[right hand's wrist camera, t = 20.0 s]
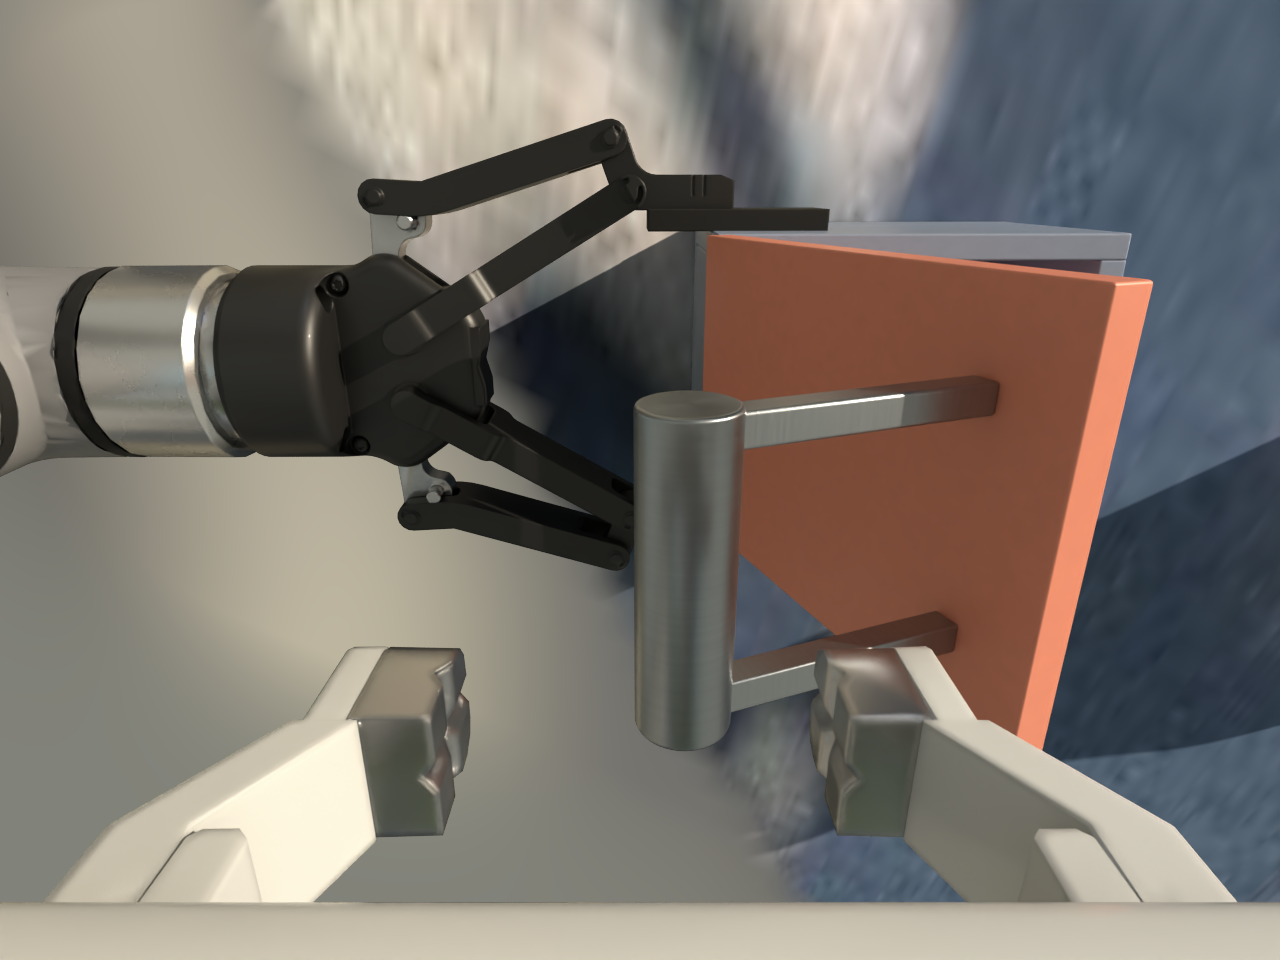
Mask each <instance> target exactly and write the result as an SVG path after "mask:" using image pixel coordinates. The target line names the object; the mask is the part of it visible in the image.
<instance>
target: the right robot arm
mask: <svg viewBox="0 0 1280 960" xmlns="http://www.w3.org/2000/svg"><path fill="white" fill-rule="evenodd" d="M465 677H466V669H465V661H464V654H463V653H462V651H461V649H460V648H415V647H390V648H388V647H354V648H351V649H349V650H348V651H347V652H346V653H345V655H344V656H343V658H342V659H341V661H340V663H339V664H338V666H337V667H336V669H335V670H334V672H333V673H332V675H331V677H330V678H329V680H328V681H327V683H326V684H325V686H324V687H323V689H322V691H321V692H320V694H319V695H318V697H317V698H316V700H315V701H314V703H313V705H312V706H311V708H310V709H309V711H308V712H307V714H306V716H305V717H304V719H303V720H291V721H289V722H287V723H285V724H284V725H282V726H280V727H278V728H277V729H275V730H273V731H272V732H270V733H268V734H266V735H265V736H263V737H261V738H259V739H258V740H256V741H254V742H252V743H251V744H249V745H247V746H245V747H244V748H242V749H240V750H238V751H237V752H235V753H233V754H231V755H230V756H228V757H226V758H224V759H223V760H221V761H219V762H217V763H216V764H214V765H212V766H210V767H209V768H207V769H205V770H203V771H202V772H200V773H198V774H196V775H195V776H193V777H191V778H189V779H188V780H186V781H184V782H182V783H181V784H179V785H177V786H175V787H174V788H172V789H170V790H168V791H167V792H165V793H163V794H161V795H160V796H158V797H156V798H154V799H153V800H151V801H149V802H147V803H146V804H144V805H142V806H140V807H139V808H137V809H135V810H133V811H132V812H130V813H128V814H126V815H125V816H123V817H121V818H120V819H118V820H116V821H114V822H112V823H111V824H109V825H107V827H106V828H105V829H104V830H103V831H102V832H101V834H100V835H99V836H98V837H97V838H96V840H95V841H94V842H93V843H92V844H91V846H90V847H89V848H88V849H87V850H86V851H85V853H84V854H83V855H82V856H81V857H80V859H79V860H78V861H77V862H76V863H75V865H74V866H73V867H72V868H71V869H70V870H69V872H68V873H67V874H66V875H65V876H64V878H63V879H62V880H61V881H60V882H59V883H58V885H57V886H56V887H55V888H54V889H53V891H52V892H51V893H50V894H49V895H48V896H47V898H46V899H45V900H44V901H43V902H0V960H1280V902H1237V901H1236V900H1235V899H1234V898H1233V896H1232V895H1231V894H1230V893H1229V892H1228V890H1227V889H1226V888H1225V887H1224V886H1223V884H1222V883H1221V882H1220V881H1219V880H1218V878H1217V877H1216V876H1215V875H1214V874H1213V873H1212V871H1211V870H1210V869H1209V868H1208V867H1207V865H1206V864H1205V863H1204V862H1203V861H1202V859H1201V858H1200V857H1199V856H1198V855H1197V853H1196V852H1195V851H1194V850H1193V849H1192V847H1191V846H1190V845H1189V844H1188V843H1187V841H1186V840H1185V839H1184V838H1183V837H1182V835H1181V834H1180V833H1179V832H1178V831H1177V829H1176V828H1175V827H1174V826H1172V825H1170V824H1169V823H1167V822H1165V821H1164V820H1162V819H1160V818H1158V817H1157V816H1155V815H1153V814H1151V813H1150V812H1148V811H1146V810H1144V809H1143V808H1141V807H1139V806H1137V805H1136V804H1134V803H1132V802H1130V801H1129V800H1127V799H1125V798H1123V797H1122V796H1120V795H1118V794H1116V793H1115V792H1113V791H1111V790H1110V789H1108V788H1106V787H1104V786H1103V785H1101V784H1099V783H1097V782H1096V781H1094V780H1092V779H1090V778H1089V777H1087V776H1085V775H1083V774H1082V773H1080V772H1078V771H1076V770H1075V769H1073V768H1071V767H1069V766H1068V765H1066V764H1064V763H1062V762H1061V761H1059V760H1057V759H1055V758H1054V757H1052V756H1050V755H1049V754H1047V753H1045V752H1043V751H1042V750H1040V749H1038V748H1036V747H1035V746H1033V745H1031V744H1029V743H1028V742H1026V741H1024V740H1022V739H1021V738H1019V737H1017V736H1015V735H1014V734H1012V733H1010V732H1008V731H1007V730H1005V729H1003V728H1001V727H1000V726H998V725H996V724H995V723H993V722H991V721H989V720H977V719H976V717H975V716H974V714H973V712H972V711H971V709H970V708H969V706H968V705H967V703H966V702H965V700H964V699H963V697H962V696H961V694H960V692H959V691H958V689H957V688H956V686H955V685H954V683H953V682H952V680H951V679H950V677H949V676H948V674H947V672H946V671H945V669H944V668H943V666H942V665H941V663H940V662H939V660H938V659H937V657H936V656H935V654H934V652H933V651H932V650H931V649H930V648H928V647H926V646H920V647H891V648H868V649H818V652H817V656H816V659H815V668H814V677H815V680H816V683H817V686H818V689H819V692H820V693H819V694H818V695H817V696H816V697H815V698H814V699H813V700H812V701H811V709H810V741H811V747H812V753H813V758H814V761H815V765H816V768H817V771H818V772H819V773H821V774H822V775H823V776H824V777H826V778H827V779H826V789H825V798H826V801H827V804H828V808H829V811H830V814H831V817H832V820H833V823H834V827H835V830H836V833H837V835H844V836H880V837H904V841H905V842H906V843H907V844H908V845H909V846H910V847H911V848H912V849H913V850H914V851H915V852H916V853H917V854H918V855H919V856H920V857H921V858H922V859H923V860H924V861H925V862H926V863H927V864H928V865H929V866H930V867H931V868H932V869H933V870H934V871H936V872H937V873H938V874H939V875H940V876H941V877H942V878H943V879H944V880H945V881H946V882H947V883H948V884H949V885H950V886H951V887H952V888H953V889H954V890H955V891H956V892H957V893H958V894H959V895H960V896H961V897H962V898H963V899H964V900H965V901H966V902H314V901H315V900H316V899H317V898H318V897H319V896H320V895H321V894H322V893H323V892H324V891H325V890H326V889H327V888H328V887H329V886H330V885H331V884H332V883H333V882H334V881H336V880H337V879H338V878H339V877H340V876H341V875H342V874H343V873H344V872H345V871H346V870H347V869H348V868H349V867H350V866H351V865H352V864H353V863H354V862H355V861H356V860H357V859H358V858H359V857H360V856H361V855H362V854H363V853H364V852H365V851H366V850H367V849H369V848H370V847H371V846H372V845H373V844H374V843H375V842H376V837H399V836H434V835H443V833H444V830H445V827H446V824H447V820H448V817H449V814H450V811H451V808H452V804H453V801H454V798H455V789H454V779H453V778H454V777H456V776H457V775H458V774H459V773H461V772H462V771H463V768H464V765H465V761H466V758H467V753H468V746H469V738H470V708H469V701H468V700H467V699H466V698H465V697H464V696H463V695H462V694H461V689H462V686H463V683H464V680H465Z"/></svg>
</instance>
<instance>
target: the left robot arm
mask: <svg viewBox="0 0 1280 960" xmlns="http://www.w3.org/2000/svg"><path fill="white" fill-rule="evenodd" d="M601 163H602V166H603V169H604V172H605V174H606V177H607V180H608V183H609V185H608V186H606V187H605V188H603V189H601V190H600V191H598V192H597V193H595V194H594V195H592V196H590V197H589V198H587V199H586V200H584V201H583V202H581V203H580V204H578V205H576V206H575V207H573V208H572V209H570V210H569V211H567V212H566V213H564V214H562V215H561V216H559V217H558V218H556V219H555V220H553V221H551V222H550V223H548V224H547V225H545V226H544V227H542V228H541V229H539V230H537V231H536V232H534V233H533V234H531V235H530V236H528V237H527V238H525V239H523V240H522V241H520V242H519V243H517V244H516V245H514V246H513V247H511V248H509V249H508V250H506V251H505V252H503V253H502V254H500V255H498V256H497V257H495V258H494V259H492V260H491V261H489V262H488V263H486V264H484V265H483V266H481V267H480V268H478V269H477V270H475V271H473V272H472V273H470V274H468V275H467V276H465V277H464V278H462V279H461V280H459V281H457V282H456V283H454V284H453V285H449V284H448V283H446V282H445V281H443V280H442V279H440V278H439V277H438V276H436V275H435V274H433V273H432V272H430V271H429V270H428V269H426V268H425V267H423V266H422V265H420V264H419V263H417V262H416V261H415V260H413V259H412V258H410V257H409V256H407V255H406V247H407V244H408V243H409V242H410V240H412V239H414V238H416V237H420V236H424V235H425V234H427V233H428V232H429V231H430V229H431V226H432V215H438V214H445V213H451V212H455V211H458V210H462V209H465V208H468V207H471V206H474V205H477V204H480V203H483V202H486V201H489V200H492V199H495V198H498V197H501V196H504V195H507V194H510V193H513V192H516V191H519V190H522V189H525V188H528V187H532V186H535V185H538V184H541V183H544V182H547V181H550V180H553V179H556V178H559V177H562V176H565V175H568V174H571V173H574V172H577V171H580V170H583V169H586V168H589V167H592V166H595V165H598V164H601ZM358 200H359V203H360V204H361V206H362V207H363V209H365V210H366V211H367V212H369V213H370V223H371V237H372V252H373V255H372V256H370V257H368V258H366V259H365V260H363V261H362V262H360V263H358V264H356V265H257V266H250V267H247V268H245V269H244V270H242V271H239V270H237V269H235V268H232V267H230V266H227V265H209V266H208V265H207V266H121V267H103V268H70V267H69V268H68V267H13V266H0V477H1V476H3V475H5V474H7V473H9V472H11V471H14V470H16V469H18V468H20V467H22V466H25V465H27V464H29V463H32V462H36V461H40V460H46V459H51V458H68V457H127V456H128V457H148V456H149V457H246V456H249V455H251V454H253V453H255V452H257V453H259V454H261V455H264V456H268V457H344V456H363V455H367V456H374V457H378V458H381V459H384V460H386V461H388V462H390V463H392V464H394V465H397V466H398V468H399V473H400V479H401V484H402V490H403V496H404V504H403V505H402V507H401V508H400V510H399V512H398V520H399V523H400V524H401V525H402V526H403V527H404V528H406V529H408V530H433V529H452V528H454V529H458V530H462V531H466V532H470V533H474V534H477V535H481V536H485V537H489V538H492V539H496V540H500V541H504V542H508V543H511V544H515V545H519V546H522V547H526V548H530V549H534V550H538V551H541V552H545V553H549V554H553V555H556V556H560V557H564V558H568V559H571V560H575V561H579V562H583V563H586V564H590V565H594V566H598V567H602V568H605V569H609V570H616V571H618V570H621V569H623V568H625V567H626V566H627V564H628V563H629V558H630V553H631V551H632V548H633V546H634V484H632V483H630V482H628V481H626V480H625V479H623V478H621V477H619V476H617V475H615V474H614V473H612V472H610V471H608V470H606V469H604V468H603V467H601V466H599V465H597V464H595V463H593V462H592V461H590V460H588V459H586V458H584V457H583V456H581V455H579V454H577V453H575V452H573V451H572V450H570V449H568V448H566V447H564V446H562V445H561V444H559V443H557V442H555V441H553V440H551V439H550V438H548V437H546V436H544V435H542V434H540V433H539V432H537V431H535V430H533V429H531V428H530V427H528V426H526V425H524V424H522V423H520V422H519V421H517V420H515V419H514V418H513V417H512V415H511V414H510V413H509V412H507V411H506V410H504V409H502V408H501V407H499V406H497V405H495V404H493V403H491V402H490V399H491V397H492V396H493V394H494V389H493V376H492V373H491V370H490V367H489V364H488V361H487V358H486V356H487V351H488V345H489V340H490V332H489V320H485V318H484V316H483V314H482V312H481V310H480V309H479V308H481V307H482V306H484V305H486V304H487V303H489V302H490V301H492V300H493V299H495V298H496V297H498V296H499V295H501V294H502V293H504V292H506V291H507V290H509V289H510V288H512V287H514V286H515V285H517V284H518V283H520V282H521V281H523V280H525V279H526V278H528V277H529V276H531V275H533V274H534V273H536V272H537V271H539V270H541V269H542V268H544V267H545V266H547V265H548V264H550V263H552V262H553V261H555V260H556V259H558V258H560V257H561V256H563V255H564V254H566V253H568V252H569V251H571V250H572V249H574V248H575V247H577V246H579V245H580V244H582V243H583V242H585V241H587V240H588V239H590V238H591V237H593V236H594V235H596V234H598V233H599V232H601V231H602V230H604V229H606V228H607V227H609V226H610V225H612V224H614V223H615V222H617V221H618V220H620V219H621V218H623V217H625V216H626V215H628V214H629V213H631V212H633V211H634V210H647V230H648V231H828V223H829V211H830V209H821V208H733V204H734V180H732V179H729V178H727V177H725V176H722V175H654V174H650V173H647V172H646V171H644V170H643V169H642V168H641V167H640V166H639V165H638V163H637V161H636V158H635V155H634V152H633V149H632V146H631V143H630V140H629V138H628V135H627V131H626V129H625V127H624V125H622V124H621V123H620V122H619V121H617V120H614V119H605V120H602V121H599V122H596V123H593V124H590V125H587V126H584V127H581V128H578V129H575V130H572V131H569V132H566V133H563V134H560V135H557V136H554V137H551V138H548V139H546V140H543V141H540V142H537V143H534V144H531V145H528V146H525V147H522V148H519V149H516V150H513V151H510V152H507V153H504V154H501V155H498V156H495V157H492V158H489V159H486V160H483V161H480V162H477V163H474V164H471V165H468V166H465V167H462V168H459V169H456V170H453V171H450V172H447V173H444V174H441V175H438V176H435V177H432V178H429V179H426V180H423V181H410V180H393V179H368V180H366V181H364V182H363V183H361V185H360V187H359V189H358ZM448 443H450V444H452V445H454V446H455V447H457V448H459V449H461V450H463V451H465V452H467V453H469V454H470V455H472V456H474V457H476V458H478V459H480V460H484V461H493V462H496V463H497V464H499V465H501V466H503V467H505V468H507V469H509V470H511V471H512V472H514V473H516V474H518V475H520V476H522V477H524V478H526V479H528V480H529V481H531V482H533V483H535V484H537V485H539V486H541V487H543V488H544V489H546V490H548V491H550V492H552V493H554V494H556V495H558V496H559V497H561V498H563V499H565V500H567V501H569V502H571V503H573V504H575V505H576V506H578V507H580V508H582V509H584V510H586V511H588V512H590V513H591V514H593V515H591V514H587V513H583V512H580V511H576V510H572V509H569V508H565V507H561V506H558V505H554V504H550V503H547V502H543V501H539V500H536V499H532V498H528V497H525V496H521V495H517V494H514V493H510V492H506V491H503V490H499V489H495V488H492V487H488V486H484V485H480V484H476V483H470V482H456V481H455V478H454V477H453V476H452V475H451V474H450V473H449V472H446V471H441V470H437V469H435V468H434V467H432V466H431V465H430V463H429V462H428V458H429V457H431V456H432V455H433V454H435V453H436V452H438V451H439V450H440V449H442V448H443V447H444V446H446V445H447V444H448ZM594 515H595V516H594Z"/></svg>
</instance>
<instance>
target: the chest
mask: <svg viewBox="0 0 1280 960" xmlns="http://www.w3.org/2000/svg"><path fill="white" fill-rule="evenodd" d="M709 235H739V236H748V237H757V238H766V239H776V240H785V241H794V242H804V243H813V244H822V245H832V246H841V247H850V248H859V249H869V250H878V251H887V252H897V253H906V254H915V255H924V256H934V257H943V258H952V259H962V260H971V261H980V262H990V263H999V264H1008V265H1017V266H1027V267H1036V268H1045V269H1055V270H1064V271H1073V272H1083V273H1092V274H1101V275H1110V276H1120V277H1123V273H1124V268H1125V264H1126V261H1125V259H1126V258H1127V253H1128V249H1129V244H1130V240H1131V234H1130V233H1123V232H1112V231H1100V230H1089V229H1077V228H1066V227H1055V226H1043V225H1032V224H1020V223H1013V222H829V223H828V231H695V263H694V305H693V347H692V389H691V391H703V362H704V328H705V294H706V260H707V236H709Z"/></svg>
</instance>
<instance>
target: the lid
mask: <svg viewBox="0 0 1280 960" xmlns="http://www.w3.org/2000/svg"><path fill="white" fill-rule="evenodd" d="M1152 285H1153V282H1152V281H1151V280H1148V279H1138V278H1129V277H1120V276H1110V275H1101V274H1092V273H1083V272H1073V271H1064V270H1055V269H1045V268H1036V267H1027V266H1017V265H1008V264H999V263H990V262H980V261H971V260H962V259H952V258H943V257H934V256H924V255H915V254H906V253H897V252H887V251H878V250H869V249H859V248H850V247H841V246H832V245H822V244H813V243H804V242H794V241H785V240H776V239H766V238H757V237H748V236H739V235H709V236H707V260H706V294H705V328H704V362H703V391H688V390H686V391H668V392H661V393H656V394H652V395H649V396H646V397H643V398H641V399H639V400H638V401H637V402H636V403H635V406H634V408H633V418H634V630H635V721H636V724H637V726H638V728H639V730H640V732H641V733H642V734H643V735H644V736H645V738H647V739H648V740H649V741H651V742H652V743H654V744H656V745H658V746H660V747H663V748H666V749H670V750H676V751H693V750H699V749H703V748H706V747H709V746H711V745H713V744H715V743H716V742H718V741H719V740H720V739H721V738H722V737H723V736H724V735H725V733H726V732H727V730H728V728H729V725H730V719H731V712H734V711H738V710H742V709H745V708H749V707H753V706H756V705H760V704H764V703H767V702H771V701H775V700H778V699H782V698H786V697H789V696H793V695H796V694H800V693H804V692H807V691H811V690H815V689H818V686H817V683H816V680H815V677H814V668H815V659H816V656H817V652H818V649H868V648H891V647H920V646H926V647H928V648H930V649H931V650H932V651H933V652H934V654H935V656H936V657H937V659H938V660H939V662H940V663H941V665H942V666H943V668H944V669H945V671H946V672H947V674H948V676H949V677H950V679H951V680H952V682H953V683H954V685H955V686H956V688H957V689H958V691H959V692H960V694H961V696H962V697H963V699H964V700H965V702H966V703H967V705H968V706H969V708H970V709H971V711H972V712H973V714H974V716H975V717H976V719H977V720H989V721H991V722H993V723H995V724H996V725H998V726H1000V727H1001V728H1003V729H1005V730H1007V731H1008V732H1010V733H1012V734H1014V735H1015V736H1017V737H1019V738H1021V739H1022V740H1024V741H1026V742H1028V743H1029V744H1031V745H1033V746H1035V747H1036V748H1038V749H1040V750H1042V749H1043V744H1044V740H1045V736H1046V732H1047V728H1048V723H1049V719H1050V715H1051V711H1052V707H1053V702H1054V698H1055V694H1056V690H1057V686H1058V681H1059V677H1060V673H1061V669H1062V664H1063V660H1064V656H1065V652H1066V648H1067V643H1068V639H1069V635H1070V631H1071V627H1072V622H1073V618H1074V614H1075V610H1076V606H1077V601H1078V597H1079V593H1080V589H1081V584H1082V580H1083V576H1084V572H1085V568H1086V563H1087V559H1088V555H1089V551H1090V547H1091V542H1092V538H1093V534H1094V530H1095V526H1096V521H1097V517H1098V513H1099V509H1100V504H1101V500H1102V496H1103V492H1104V488H1105V483H1106V479H1107V475H1108V471H1109V467H1110V462H1111V458H1112V454H1113V450H1114V446H1115V441H1116V437H1117V433H1118V429H1119V424H1120V420H1121V416H1122V412H1123V408H1124V403H1125V399H1126V395H1127V391H1128V387H1129V382H1130V378H1131V374H1132V370H1133V365H1134V361H1135V357H1136V353H1137V349H1138V344H1139V340H1140V336H1141V332H1142V328H1143V323H1144V319H1145V315H1146V311H1147V307H1148V302H1149V298H1150V294H1151V290H1152ZM739 553H740V554H741V555H742V556H744V557H745V558H746V559H747V560H748V561H749V562H751V563H752V564H753V565H754V566H755V567H756V568H758V569H759V570H760V571H761V572H762V573H763V574H765V575H766V576H767V577H768V578H769V579H770V580H772V581H773V582H774V583H775V584H776V585H777V586H779V587H780V588H781V589H782V590H783V591H784V592H786V593H787V594H788V595H789V596H790V597H791V598H793V599H794V600H795V601H796V602H797V603H798V604H800V605H801V606H802V607H803V608H804V609H805V610H807V611H808V612H809V613H810V614H811V615H812V616H814V617H815V618H816V619H817V620H818V621H819V622H821V623H822V624H823V625H824V626H825V627H826V628H828V629H829V630H830V631H831V632H832V633H833V634H835V636H831V637H827V638H823V639H819V640H815V641H811V642H807V643H803V644H799V645H795V646H791V647H787V648H783V649H779V650H775V651H770V652H766V653H762V654H758V655H754V656H750V657H746V658H742V659H738V660H734V641H735V621H736V601H737V582H738V562H739ZM733 660H734V661H733Z"/></svg>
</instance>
